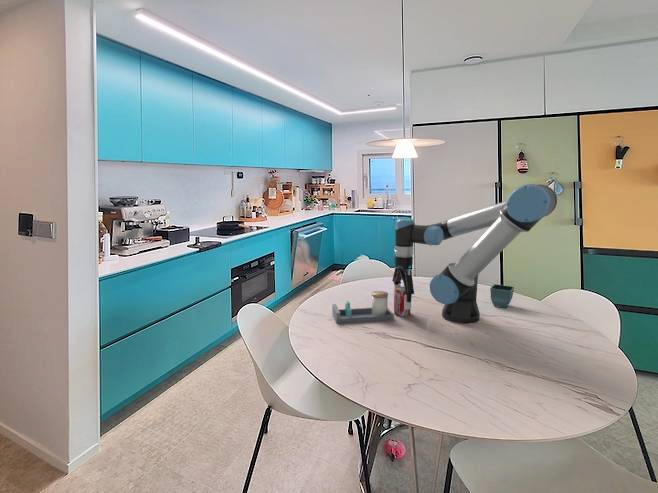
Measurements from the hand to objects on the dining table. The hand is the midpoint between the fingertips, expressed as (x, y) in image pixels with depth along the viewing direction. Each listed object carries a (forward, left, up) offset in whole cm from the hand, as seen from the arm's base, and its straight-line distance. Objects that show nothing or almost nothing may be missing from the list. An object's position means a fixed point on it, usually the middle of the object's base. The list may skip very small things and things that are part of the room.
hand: (402, 303), depth 158 cm
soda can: (0, 0, -5) cm, 5 cm away
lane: (+15, +9, -5) cm, 19 cm away
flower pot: (-42, -25, -5) cm, 49 cm away
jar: (+9, +6, -5) cm, 11 cm away
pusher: (+21, +12, -4) cm, 24 cm away
